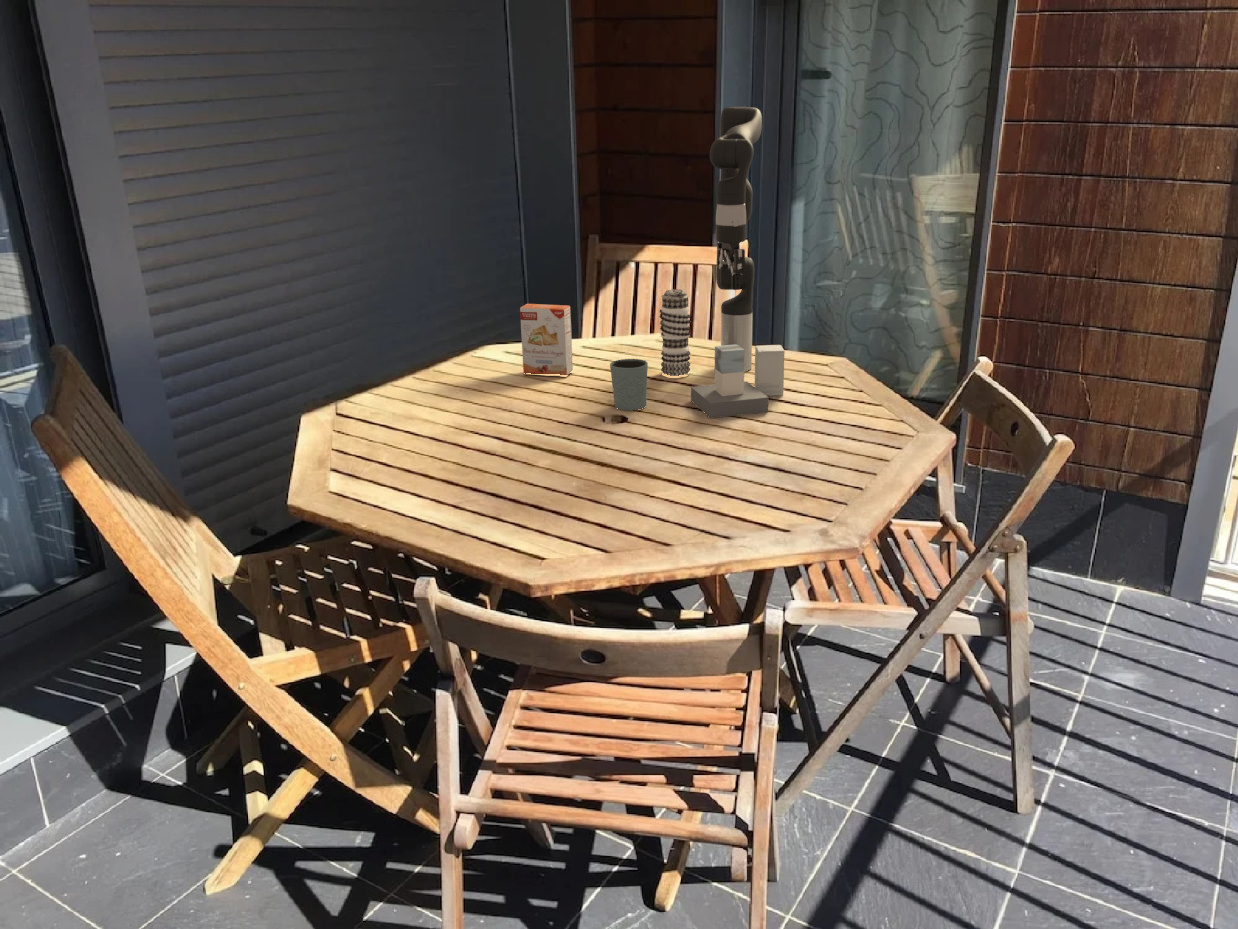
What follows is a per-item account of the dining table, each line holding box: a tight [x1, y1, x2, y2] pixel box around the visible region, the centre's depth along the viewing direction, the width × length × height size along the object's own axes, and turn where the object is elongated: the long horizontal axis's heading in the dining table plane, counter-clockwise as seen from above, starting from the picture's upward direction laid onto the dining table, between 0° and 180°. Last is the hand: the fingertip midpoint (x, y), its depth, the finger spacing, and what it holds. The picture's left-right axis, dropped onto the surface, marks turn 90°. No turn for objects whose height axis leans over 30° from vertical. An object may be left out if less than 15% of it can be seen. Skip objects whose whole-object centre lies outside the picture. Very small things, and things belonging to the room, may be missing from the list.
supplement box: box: [754, 344, 786, 397], centre depth 287 cm, size 7×7×13 cm
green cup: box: [609, 358, 649, 412], centre depth 278 cm, size 10×10×12 cm
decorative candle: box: [658, 288, 692, 376], centre depth 304 cm, size 9×9×25 cm
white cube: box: [714, 368, 745, 396], centre depth 275 cm, size 6×6×6 cm
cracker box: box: [519, 303, 574, 375], centre depth 308 cm, size 14×6×21 cm, turn 73°
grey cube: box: [714, 344, 745, 374], centre depth 273 cm, size 6×6×6 cm
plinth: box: [690, 381, 770, 419], centre depth 276 cm, size 16×16×4 cm
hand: (730, 286), depth 266 cm, fingers open, 8 cm apart
